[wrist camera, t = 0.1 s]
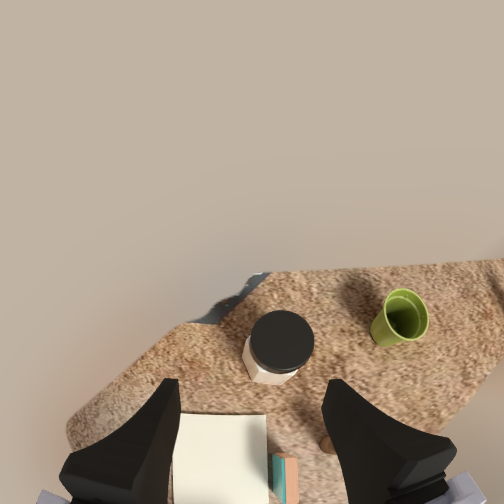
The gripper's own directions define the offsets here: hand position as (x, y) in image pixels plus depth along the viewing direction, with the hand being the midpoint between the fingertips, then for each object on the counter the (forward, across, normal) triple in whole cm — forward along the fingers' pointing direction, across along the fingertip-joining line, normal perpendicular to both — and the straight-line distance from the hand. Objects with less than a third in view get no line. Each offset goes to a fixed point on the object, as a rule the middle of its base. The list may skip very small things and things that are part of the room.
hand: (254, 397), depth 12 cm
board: (+14, +2, +30) cm, 34 cm away
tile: (+14, -7, +30) cm, 34 cm away
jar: (+28, -6, +18) cm, 34 cm away
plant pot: (+31, -28, +15) cm, 45 cm away
